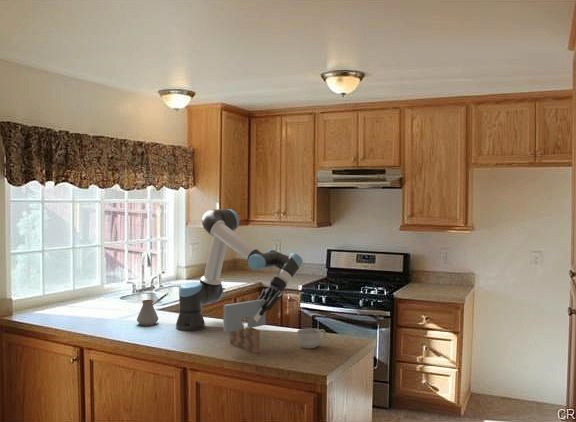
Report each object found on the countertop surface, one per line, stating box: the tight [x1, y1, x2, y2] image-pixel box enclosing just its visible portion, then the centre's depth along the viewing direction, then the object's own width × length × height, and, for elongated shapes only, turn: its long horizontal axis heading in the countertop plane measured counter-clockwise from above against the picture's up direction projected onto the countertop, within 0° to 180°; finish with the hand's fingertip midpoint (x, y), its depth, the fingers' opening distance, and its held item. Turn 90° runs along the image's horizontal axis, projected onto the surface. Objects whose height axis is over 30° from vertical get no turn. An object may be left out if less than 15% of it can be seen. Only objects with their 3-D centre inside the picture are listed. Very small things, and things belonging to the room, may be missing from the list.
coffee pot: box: [136, 292, 171, 327], centre depth 304 cm, size 21×12×15 cm, turn 146°
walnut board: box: [229, 324, 261, 354], centre depth 255 cm, size 20×2×10 cm, turn 40°
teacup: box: [297, 327, 327, 349], centre depth 257 cm, size 14×11×8 cm
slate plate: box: [222, 299, 267, 333], centre depth 254 cm, size 2×22×12 cm, turn 129°
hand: (253, 319), depth 257 cm, fingers closed on slate plate, 2 cm apart
